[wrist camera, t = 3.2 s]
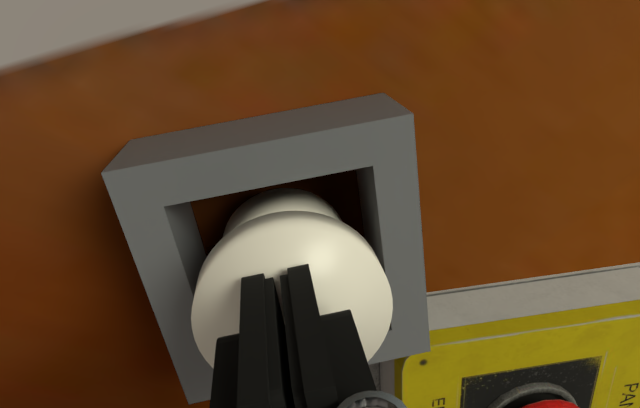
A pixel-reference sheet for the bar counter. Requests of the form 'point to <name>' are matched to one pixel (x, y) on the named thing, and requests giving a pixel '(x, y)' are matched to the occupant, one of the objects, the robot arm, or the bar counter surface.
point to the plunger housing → (261, 171)
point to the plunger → (289, 251)
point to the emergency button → (527, 345)
